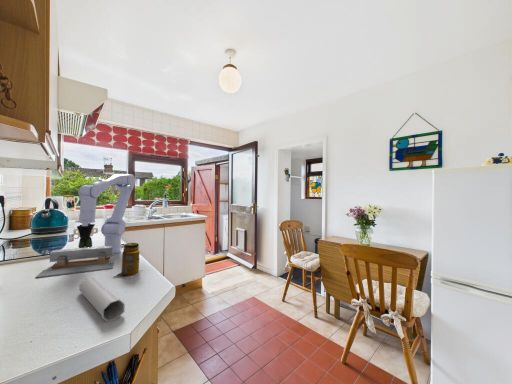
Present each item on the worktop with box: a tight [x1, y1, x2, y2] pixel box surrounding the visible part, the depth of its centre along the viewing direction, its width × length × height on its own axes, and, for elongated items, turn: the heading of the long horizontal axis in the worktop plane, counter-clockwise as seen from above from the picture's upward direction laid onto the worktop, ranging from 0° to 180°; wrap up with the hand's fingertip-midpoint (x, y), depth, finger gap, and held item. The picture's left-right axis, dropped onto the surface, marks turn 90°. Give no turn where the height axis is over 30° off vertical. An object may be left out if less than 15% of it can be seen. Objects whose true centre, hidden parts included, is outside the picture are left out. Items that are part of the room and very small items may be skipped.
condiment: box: [113, 242, 144, 279], centre depth 86 cm, size 7×8×12 cm
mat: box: [34, 261, 115, 279], centre depth 89 cm, size 8×24×1 cm, turn 120°
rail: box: [49, 245, 114, 263], centre depth 97 cm, size 4×22×4 cm, turn 120°
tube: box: [79, 277, 126, 323], centre depth 64 cm, size 5×5×25 cm
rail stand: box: [50, 253, 112, 269], centre depth 97 cm, size 8×20×4 cm, turn 120°
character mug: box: [73, 224, 99, 248], centre depth 122 cm, size 11×7×13 cm, turn 125°
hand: (84, 240), depth 97 cm, fingers open, 7 cm apart
